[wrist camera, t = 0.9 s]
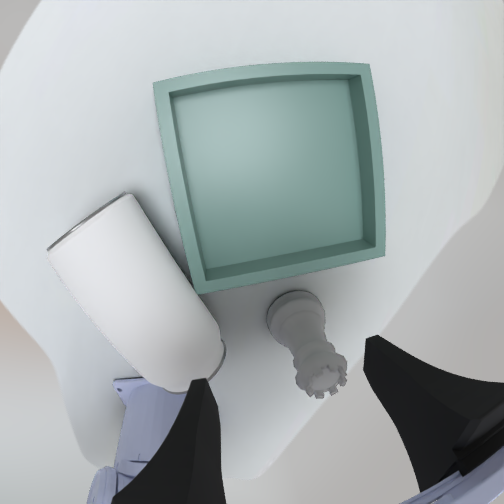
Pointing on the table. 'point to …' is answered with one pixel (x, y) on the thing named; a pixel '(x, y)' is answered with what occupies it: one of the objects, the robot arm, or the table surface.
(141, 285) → the can
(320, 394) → the rook chess piece
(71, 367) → the table surface
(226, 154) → the tray
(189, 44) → the table surface
